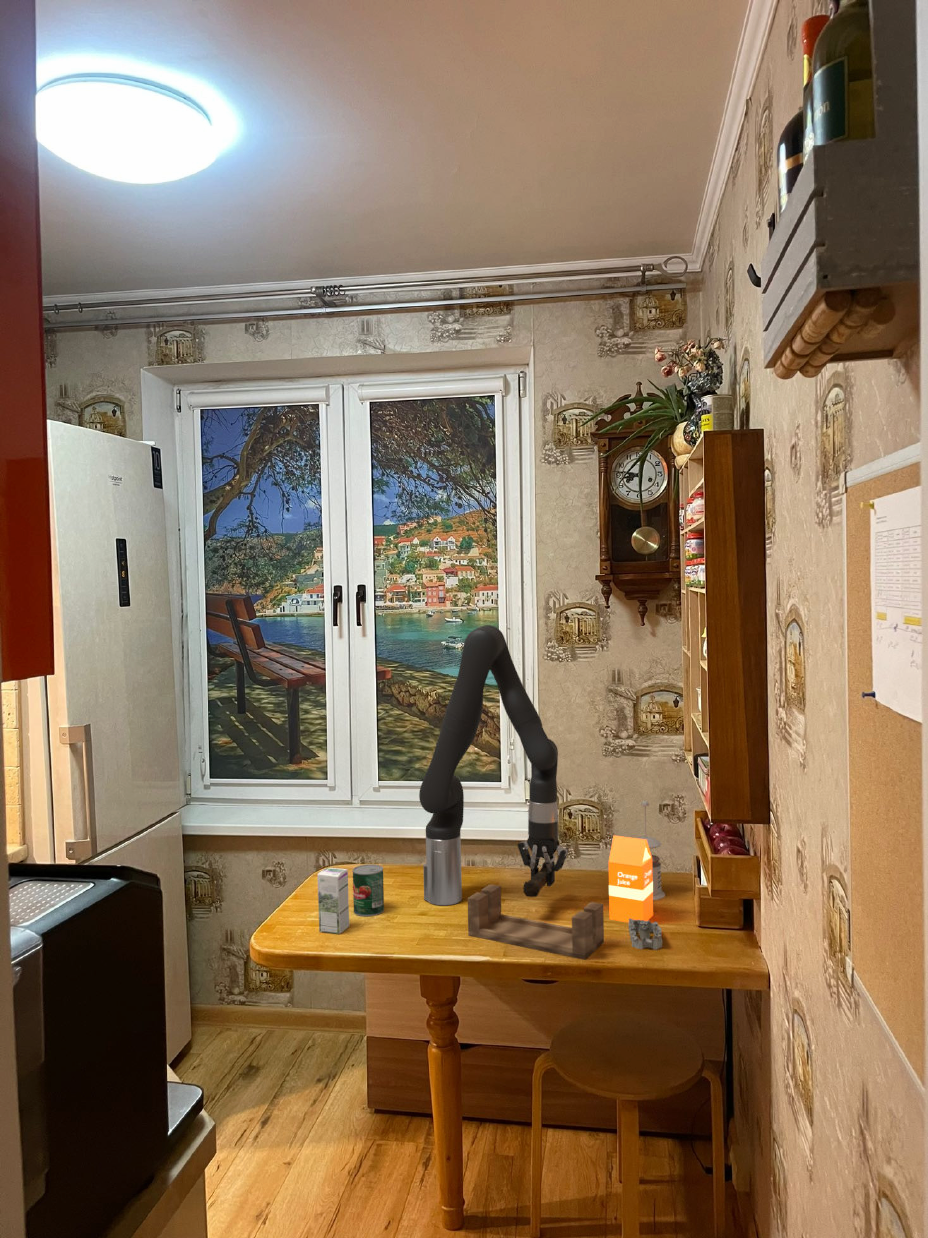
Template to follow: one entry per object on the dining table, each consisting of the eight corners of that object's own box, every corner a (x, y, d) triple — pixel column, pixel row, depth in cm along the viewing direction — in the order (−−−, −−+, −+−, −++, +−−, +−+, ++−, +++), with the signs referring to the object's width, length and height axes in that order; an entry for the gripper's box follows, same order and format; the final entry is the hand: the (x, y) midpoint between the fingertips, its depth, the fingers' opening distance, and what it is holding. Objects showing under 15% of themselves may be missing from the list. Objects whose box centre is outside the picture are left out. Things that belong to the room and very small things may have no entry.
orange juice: (619, 909, 229) (618, 831, 228) (653, 915, 225) (652, 835, 224) (608, 919, 222) (607, 839, 222) (643, 925, 218) (642, 844, 217)
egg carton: (663, 952, 203) (663, 934, 203) (629, 950, 204) (629, 932, 204) (660, 933, 214) (660, 916, 213) (628, 932, 215) (628, 915, 215)
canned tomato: (348, 915, 229) (347, 872, 229) (361, 904, 237) (359, 863, 236) (377, 918, 227) (376, 875, 226) (389, 907, 234) (387, 865, 234)
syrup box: (350, 926, 222) (348, 868, 221) (339, 935, 216) (337, 875, 216) (329, 924, 224) (328, 866, 223) (318, 932, 218) (316, 873, 217)
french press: (663, 888, 244) (661, 796, 244) (668, 903, 233) (666, 807, 232) (626, 887, 245) (625, 796, 245) (629, 902, 234) (628, 807, 233)
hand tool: (537, 899, 220) (538, 880, 220) (522, 896, 222) (522, 878, 222) (563, 876, 237) (563, 858, 237) (548, 873, 239) (549, 856, 239)
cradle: (468, 935, 214) (467, 898, 214) (490, 920, 224) (490, 884, 223) (584, 960, 199) (584, 919, 198) (603, 942, 208) (603, 904, 208)
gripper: (511, 817, 229) (511, 884, 230) (562, 825, 222) (562, 894, 223) (524, 810, 236) (524, 875, 236) (574, 818, 229) (574, 884, 229)
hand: (542, 884), depth 230 cm, fingers closed on hand tool, 3 cm apart
